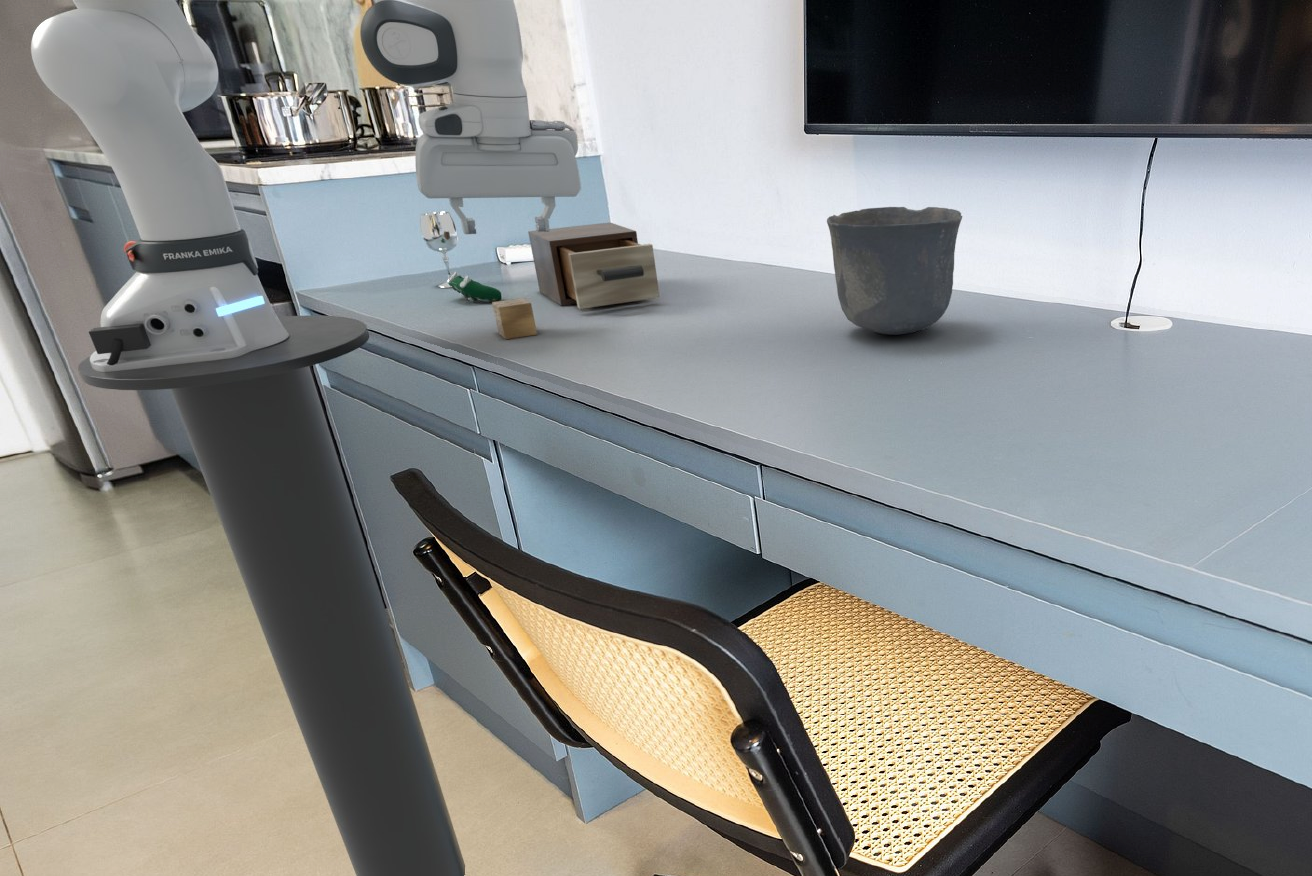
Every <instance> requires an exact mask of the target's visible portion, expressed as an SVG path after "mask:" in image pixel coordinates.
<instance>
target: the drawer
mask: <svg viewBox="0 0 1312 876" xmlns="http://www.w3.org/2000/svg"><path fill="white" fill-rule="evenodd" d="M556 248H557V254H558V259H559V265H560V270H561V275H562V281H563V286H564V292H565V294H566V295H567V296H569V297H571V298H573V299H574V300H576V301H577V304H576V305H577V308H578V309H579V310H581V309H582V310H583V309H590V308H595V307H604V306H610V305H617V304H624V303H630V302H638V301H644V300H652V299H658V298H660V297H661V295H660V289H659V282H658V275H657V268H656V267H657V266H656V260H655V253H654V247H653V244H652V243H643V244H640V243H639V242H638V243H635V242H633V241H630V240H627V239H616V240H607V241H599V242H590V243H582V244H573V245H565V246H556Z"/></svg>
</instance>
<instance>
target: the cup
mask: <svg viewBox="0 0 1312 876" xmlns="http://www.w3.org/2000/svg"><path fill="white" fill-rule="evenodd" d="M962 219H963V215H962V212H961V211H960V210H958V209H953V208H947V207H937V206H927V207H925V208H922V209H910V208H908V207H905V206H885V207H870V208H863V209H862V208H861V209H859V210H853V211H848V212H847V211H846V212H842V213H840V214H839V215H835V214H833V215H831V216H829V217H827V219H826V223H827V226H828V230H829V235H830V243H831V249H832V250H831V251H832V258H833V269H834V277H835V284H836V290H837V291H836V292H837V298H838V301H839V305H840V309H841V311H842V312H843V314H844V316H845V318H846V320H847V321H849V323H852V325H854V326H856V327H858V328H861V329H863V330H866V331H870V332H874V333H877V334H881V335H892V336H894V335H896V336H897V335H906V334H912V333H916V332H919V331H922V330H925V329H927V328H930V327H931V326H933V325H935V324H936V323H937V322H938V321H939V320H940V319H941V318H942V317H943V316H944V314H945V312H947V311H946V310H948V307H949V305H950V301H951V299H952V295H953V287H954V271H955V252H956V244H957V238H958V235H959V234H958V233H959V229H960V225H961V222H962Z"/></svg>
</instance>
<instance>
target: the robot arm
mask: <svg viewBox="0 0 1312 876" xmlns="http://www.w3.org/2000/svg"><path fill="white" fill-rule="evenodd" d="M71 1H72V2H73V4H74V6H75V7H76V9H71V10H68V11H64V12H61V13H58V14H56V15H53V16H51V17H49V18H47V19H45V20H44V21H42V22H41V23H39V25H38V26H37V28H36V29H35V30H34V32H33V35H32V38H31V42H30V53H31V59H32V62H33V65H34V68H35V71H36V72H37V75H38V76H39V78H40V79H41V81H42V82H43V84H44V85H45V86H46V87H47V89H49V91H50V92H51V93H53V94H54V95H55V96H56V97H57V98H58V99H60V100H61V101H62V102H63V103H65V104H66V105H68V107H69V108H70V109H71V110H72V111H73V112H74V113H75V114H76V115H77V116H78V118H79V119H80V121H81V122H82V123H83V125H84V127H86V129H87V131H88V133H90V135H91V137H92V138H93V140H94V141H95V142H96V144H97V145H98V147H99V149H100V150H101V152H102V154H104V157H105V158H106V160H107V161H108V163H109V165H110V167H111V169H112V170H113V173H114V175H115V176H116V179H117V181H118V184H119V186H120V189H121V191H122V193H123V195H124V198H125V201H126V204H127V206H128V208H129V210H130V214H131V216H132V219H133V221H134V224H135V227H136V229H137V232H138V234H139V240H137V241H135V240H130V241H128V242H126V243H125V245H124V246H123V251H124V254H125V256H126V257H127V260H128V263H129V265H130V267H131V269H132V271H136V272H135V273H134V274H133V275H132V276H131V277H130V278H129V279H128V280H127V281H126V283H124V284H123V286H122V287H121V288H120V289H119V290H118V291H117V293H115V295H114V296H113V297H112V298H111V299H110V300H109V301H108V303H107V304H106V305H105V306H104V307H103V309H102V311H101V314H100V326H99V327H98V326H97V327H93V328H92V329H91V330H89V331H88V334H89V337H90V339H91V341H92V345H93V347H94V349H95V351H93V353H91V354H90V355H89V357H90V363H91V366H92V368H93V369H94V370H96V371H100V372H112V371H121V370H130V369H140V368H149V367H158V366H167V365H176V364H185V363H194V362H203V361H212V360H221V359H230V358H235V357H239V356H241V355H244V354H246V353H248V352H251V351H254V350H257V349H261V348H264V347H268V346H271V345H274V344H277V343H279V342H281V341H283V340H285V339H287V338H288V337H289V334H288V332H287V331H286V329H285V328H284V326H283V325H282V323H281V322H280V320H279V318H278V317H279V316H278V315H277V313H276V311H275V310H274V307H273V306H272V304H271V302H270V300H269V298H268V296H267V293H266V292H265V289H264V286H263V285H262V283H261V281H260V277H259V275H258V273H259V270H258V269H259V266H258V263H257V259H256V257H255V253H254V249H253V246H252V243H251V241H250V238H248V235H247V233H246V231H245V230H244V229H243V228H241V225H240V223H239V219H238V216H237V213H236V210H235V207H234V204H233V200H232V197H231V194H230V191H229V189H228V185H227V182H226V180H225V175H224V173H223V170H222V168H221V166H220V164H219V163H218V162H217V161H216V159H215V158H214V157H213V156H212V155H210V153H209V152H207V150H206V149H205V148H204V146H203V145H202V144H201V143H200V141H199V139H198V137H197V136H196V134H195V132H194V131H193V129H192V128H191V126H190V124H189V122H188V120H187V119H186V116H185V115H184V113H186V112H189V111H191V110H193V109H195V108H196V107H198V106H200V105H202V104H203V103H205V102H206V101H207V100H208V99H210V98H211V97H212V95H213V94H214V93H215V91H216V89H217V87H218V83H219V68H218V67H219V66H218V64H217V60H216V58H215V55H214V53H213V52H212V50H211V48H210V47H209V46H208V44H207V43H206V42H205V41H204V39H203V38H202V37H201V36H200V35H199V34H197V32H196V31H195V30H194V29H193V27H192V26H191V25H190V23H189V21H188V20H187V18H186V16H185V14H184V13H183V11H182V9H181V8H180V6H179V4H178V2H177V0H71ZM374 1H375V3H373V4H372V5H371V6H370V7H368V9H367V10H366V11H365V12H364V15H363V16H362V20H361V23H360V29H359V30H360V32H359V35H360V41H361V46H362V50H363V52H364V54H365V56H366V58H367V60H368V62H369V64H371V66H372V67H373V68H374V69H375V71H376V72H377V73H379V74H380V76H382V77H384V78H385V79H387V80H389V81H391V82H393V83H396V84H398V85H401V86H405V87H412V88H417V87H418V88H419V87H428V86H429V87H430V86H440V87H442V86H443V87H448V86H451V91H452V96H453V102H452V103H448V104H445V105H443V106H439V107H436V108H432V109H430V110H427V111H423V112H421V113H419V115H418V119H417V120H418V125H419V129H420V130H421V132H422V133H423V134H421V135H420V136H419V137H418V139H417V141H416V143H415V157H414V158H415V178H416V183H417V185H416V186H417V187H418V191H419V192H420V193H421V194H422V195H423V196H424V197H425V198H427V199H448V200H449V206H450V207H451V208H452V209H453V211H454V212H455V214H456V215H457V216H458V218H459V219H460V221H461V228H462V229H461V230H462V233H463V234H464V235H477V229H476V221H475V219H474V218H472V217H466V215H465V213H464V212H463V211H462V209H461V208H463V207H464V199H494V198H495V199H496V198H497V199H499V198H540V199H541V203H542V204H543V205H544V207H543V210H542V212H541V214H540V216H534V223H536V224H535V231H536V230H537V231H538V232H549V229H550V222H549V221H550V220H549V219H550V218H551V216H552V214H553V212H554V210H555V208H556V205H557V204H556V198H566V197H567V198H568V197H569V198H570V197H571V198H572V197H573V198H574V197H577V196H578V195H579V193H580V191H581V189H582V183H581V177H580V171H579V170H580V169H579V166H578V162H577V158H576V155H577V154H578V151H579V142H578V135H577V132H576V131H575V129H574V128H573V127H572V126H571V125H568V124H566V123H565V121H563V120H553V121H550V120H549V121H547V120H539V119H538V120H537V119H536V120H534V119H530V110H529V101H528V100H529V99H528V93H527V87H525V83H524V79H523V74H522V67H523V62H524V53H523V52H524V51H523V44H522V42H523V41H522V35H521V29H520V24H519V17H518V13H517V8H516V3H515V1H514V0H374Z"/></svg>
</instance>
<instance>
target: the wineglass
mask: <svg viewBox="0 0 1312 876" xmlns="http://www.w3.org/2000/svg"><path fill="white" fill-rule="evenodd" d="M419 221H420V232H421V237H422V241H423V243H424V244H425V246H426V247H427V248H428V249H429V250H432V251H434V252H437V253H441V254H442V255H441V257H442V262H443V263H444V266H445V269H446V272H447V280H446V281H445V282H444V283H441V284H439V285H438V288H442V289H448V288H451V286H450V285H449V284H448V283H449V282H448V281H449V279H450V277H452V274H451V270H450V259H449V256H448V255H447V253H448V252H450V251H452V250H454V249H455V247H457V246H458V243H459V233H458V229H457V227H456V224H455V221H454V219H453V216H452V215H451V213H450V211H433V212H425V213H421V214H420V220H419ZM451 289H452V288H451Z"/></svg>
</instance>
